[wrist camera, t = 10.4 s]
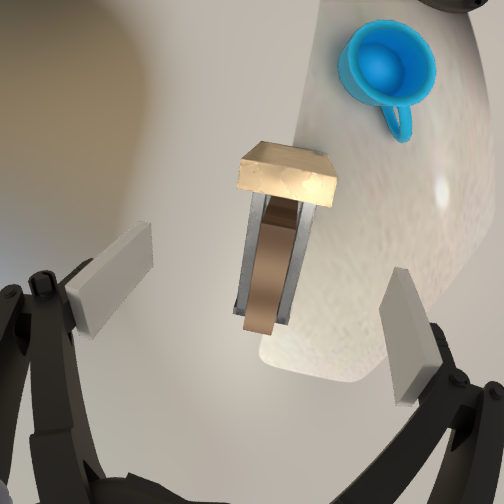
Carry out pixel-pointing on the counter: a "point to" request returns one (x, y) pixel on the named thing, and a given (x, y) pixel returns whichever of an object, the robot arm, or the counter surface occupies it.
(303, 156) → the door track
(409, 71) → the mug
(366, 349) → the counter surface
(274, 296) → the door panel
